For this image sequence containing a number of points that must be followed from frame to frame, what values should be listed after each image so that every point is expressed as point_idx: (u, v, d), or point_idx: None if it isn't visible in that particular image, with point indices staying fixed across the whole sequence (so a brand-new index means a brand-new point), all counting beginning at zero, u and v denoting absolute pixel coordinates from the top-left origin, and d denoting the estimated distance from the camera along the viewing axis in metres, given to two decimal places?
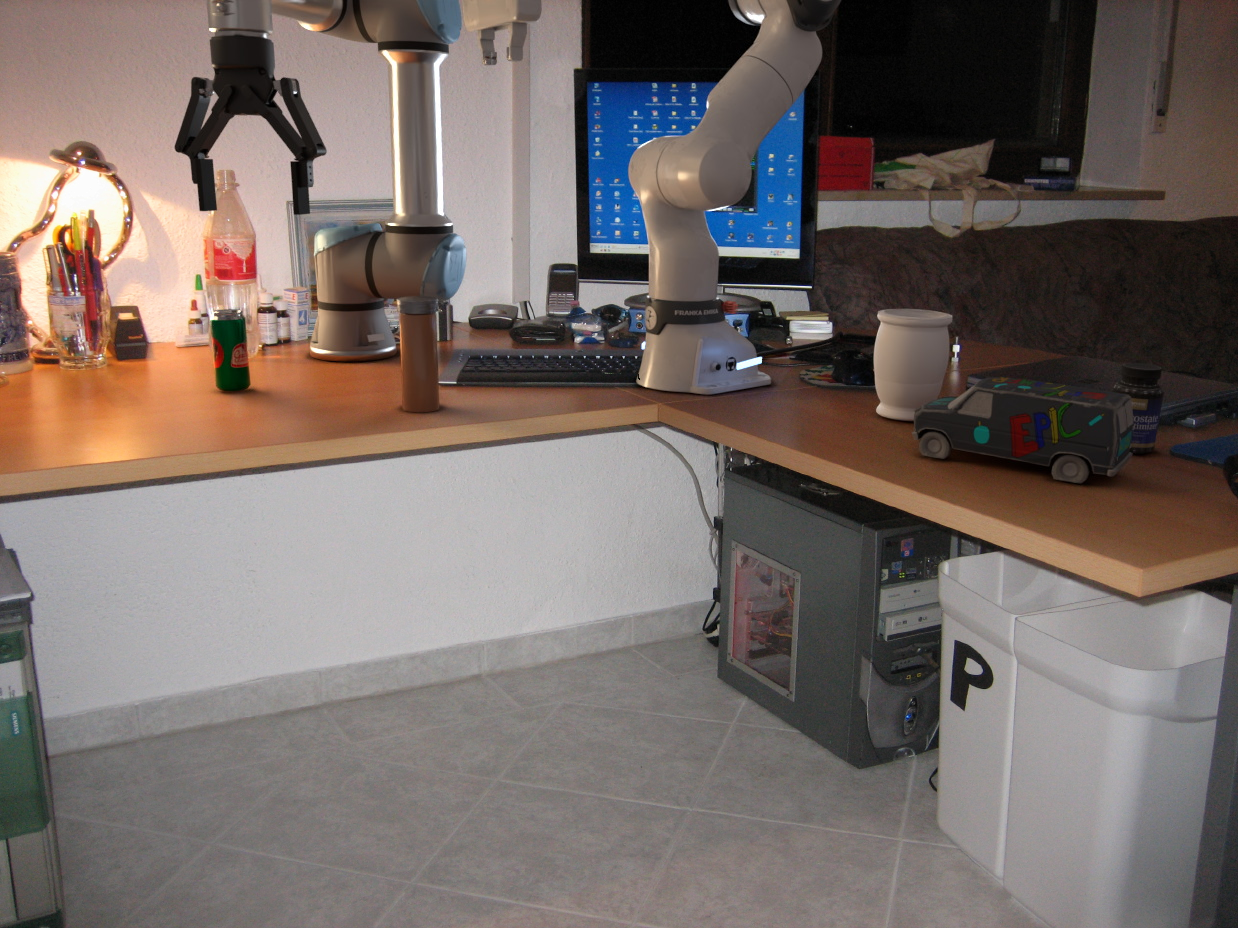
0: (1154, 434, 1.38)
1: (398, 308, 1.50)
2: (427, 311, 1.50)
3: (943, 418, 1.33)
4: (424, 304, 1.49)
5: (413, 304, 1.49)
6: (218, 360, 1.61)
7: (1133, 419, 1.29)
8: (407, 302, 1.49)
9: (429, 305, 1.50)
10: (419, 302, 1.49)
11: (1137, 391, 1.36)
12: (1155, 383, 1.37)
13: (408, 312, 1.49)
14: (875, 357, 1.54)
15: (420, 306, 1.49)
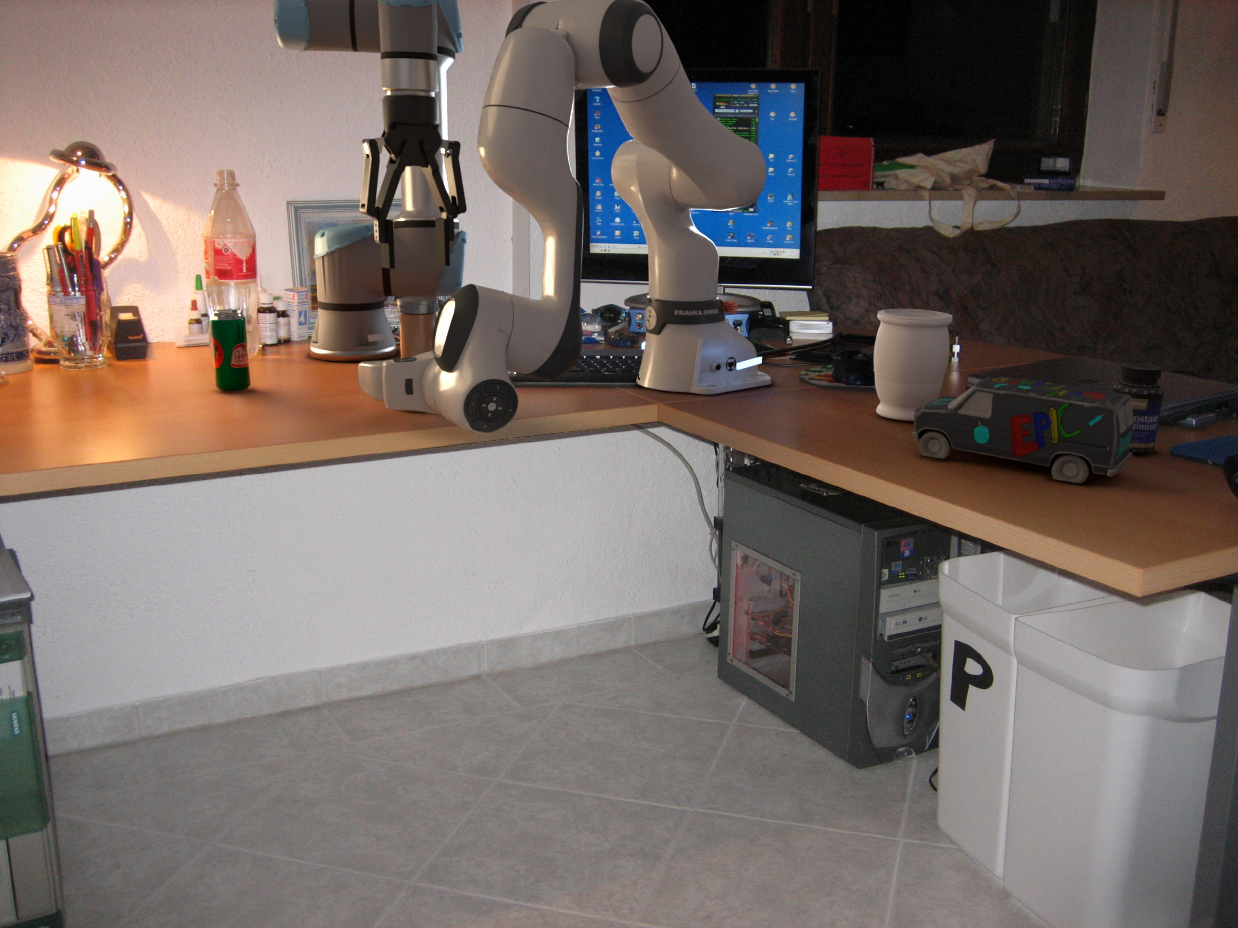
0: (1154, 434, 1.38)
1: (398, 308, 1.50)
2: (427, 311, 1.50)
3: (943, 418, 1.33)
4: (424, 304, 1.49)
5: (413, 304, 1.49)
6: (218, 360, 1.61)
7: (1133, 419, 1.29)
8: (407, 302, 1.49)
9: (429, 305, 1.50)
10: (419, 302, 1.49)
11: (1137, 391, 1.36)
12: (1155, 383, 1.37)
13: (408, 312, 1.49)
14: (875, 357, 1.54)
15: (420, 306, 1.49)
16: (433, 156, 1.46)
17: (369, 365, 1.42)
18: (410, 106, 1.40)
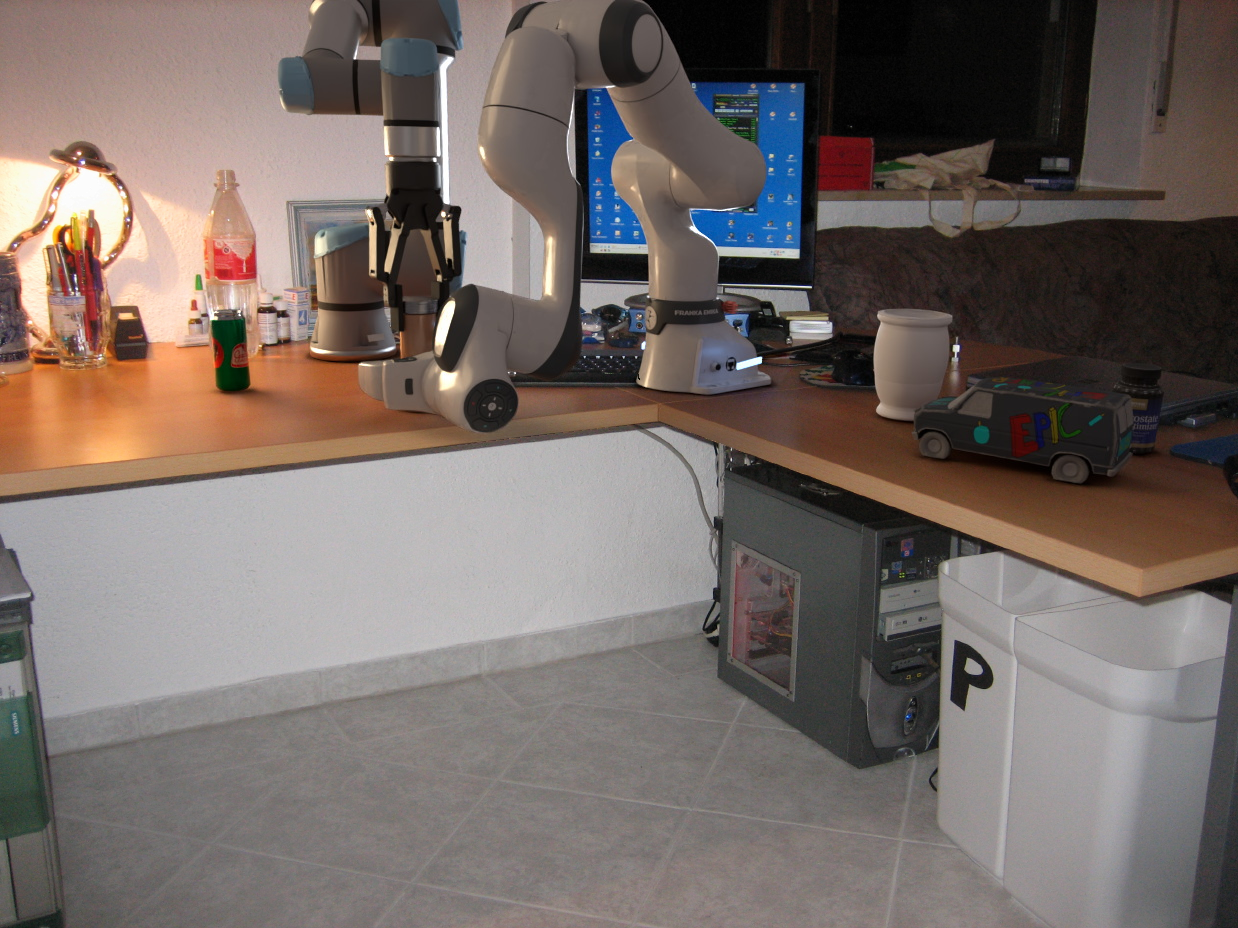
0: (1154, 434, 1.38)
1: None
2: (427, 311, 1.50)
3: (943, 418, 1.33)
4: (424, 304, 1.49)
5: (413, 304, 1.49)
6: (218, 360, 1.61)
7: (1133, 419, 1.29)
8: (407, 302, 1.49)
9: (429, 305, 1.50)
10: (419, 302, 1.49)
11: (1137, 391, 1.36)
12: (1155, 383, 1.37)
13: (408, 312, 1.49)
14: (875, 357, 1.54)
15: (420, 306, 1.49)
16: (435, 219, 1.48)
17: (369, 365, 1.42)
18: (413, 172, 1.43)
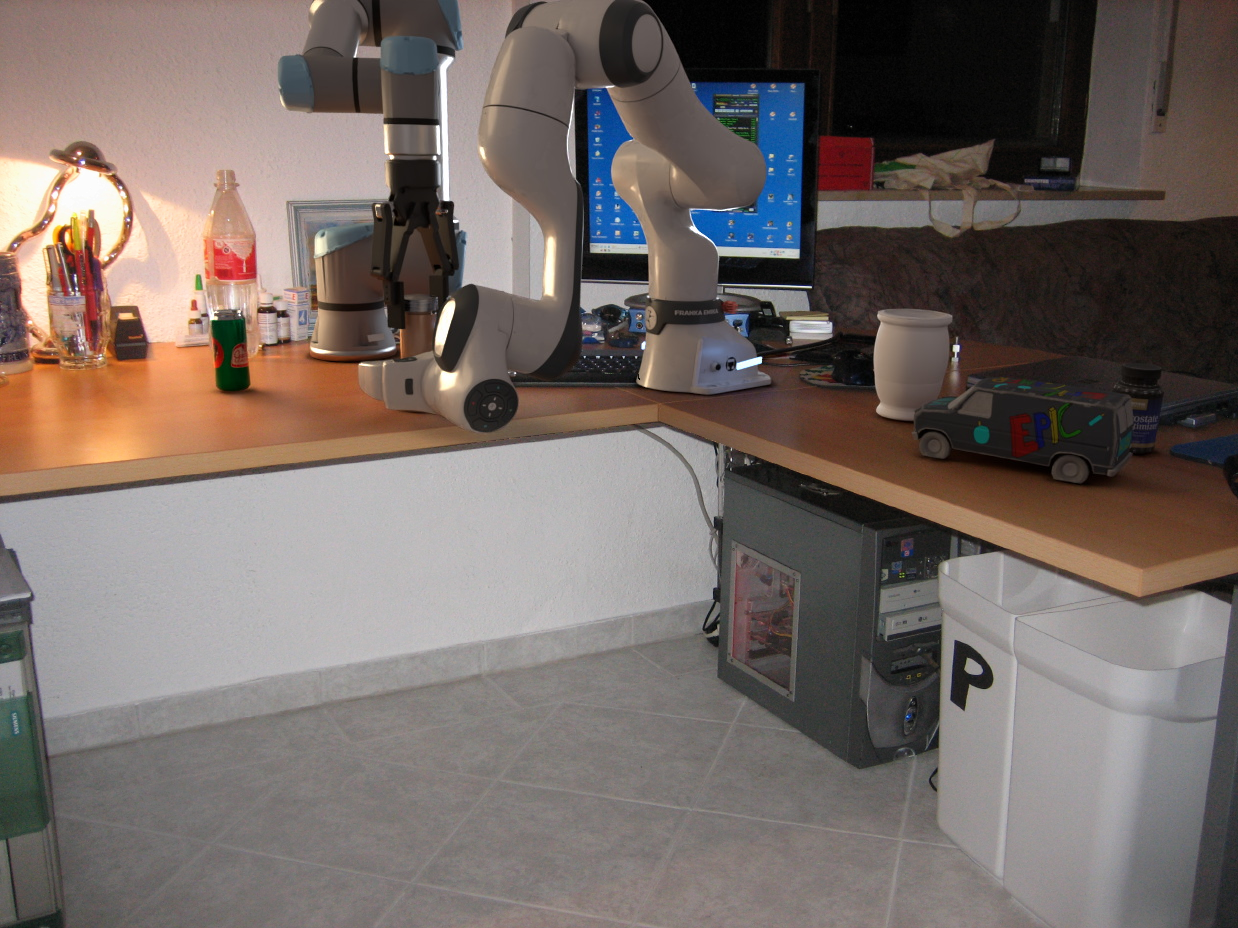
0: (1154, 434, 1.38)
1: (424, 308, 1.49)
2: None
3: (943, 418, 1.33)
4: None
5: (437, 300, 1.51)
6: (218, 360, 1.61)
7: (1133, 419, 1.29)
8: (435, 299, 1.50)
9: None
10: None
11: (1137, 391, 1.36)
12: (1155, 383, 1.37)
13: (435, 309, 1.51)
14: (875, 357, 1.54)
15: None
16: (435, 217, 1.49)
17: (369, 365, 1.42)
18: (422, 170, 1.43)
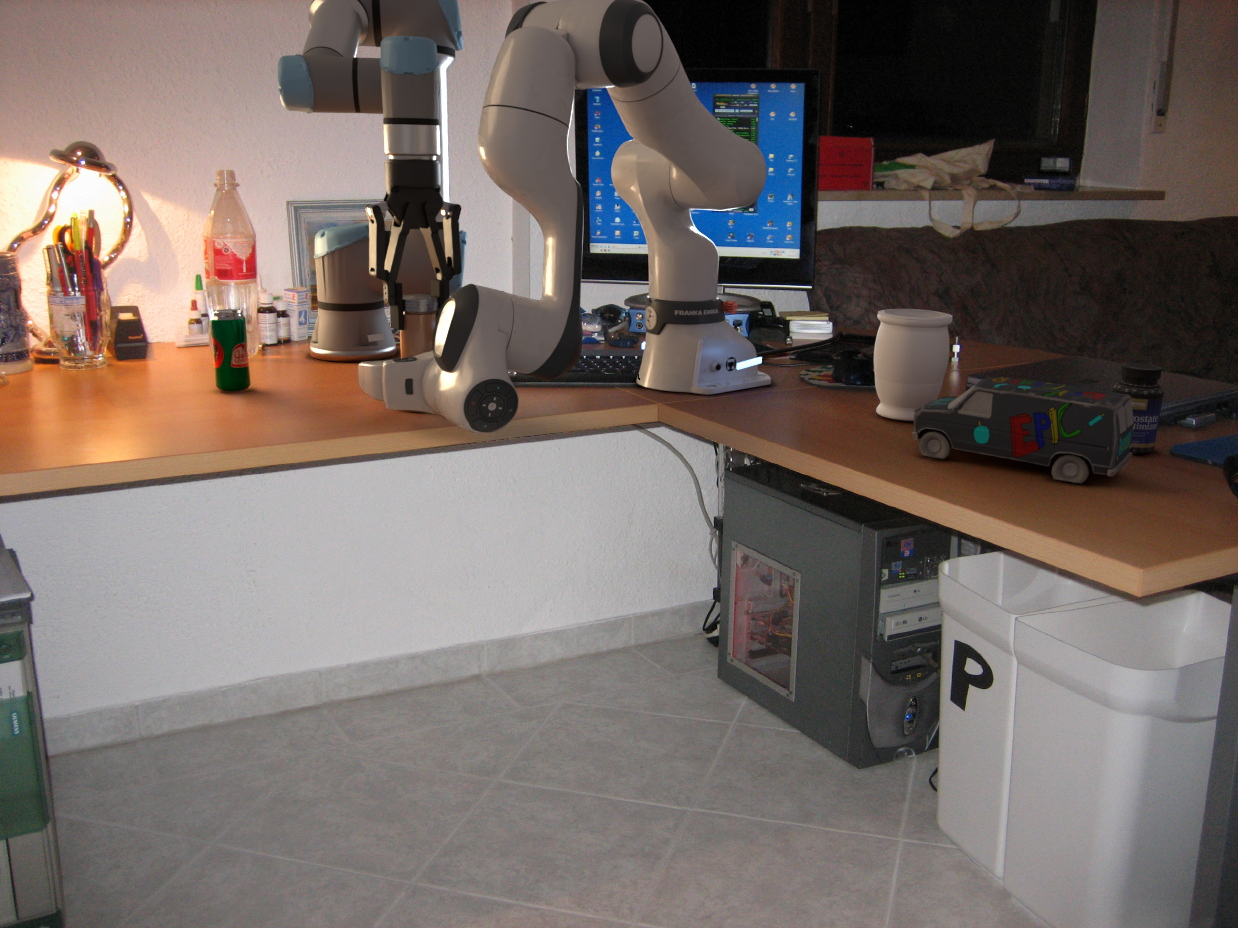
0: (1154, 434, 1.38)
1: (424, 308, 1.49)
2: None
3: (943, 418, 1.33)
4: None
5: (437, 300, 1.51)
6: (218, 360, 1.61)
7: (1133, 419, 1.29)
8: (435, 299, 1.50)
9: None
10: None
11: (1137, 391, 1.36)
12: (1155, 383, 1.37)
13: (435, 309, 1.51)
14: (875, 357, 1.54)
15: None
16: (435, 217, 1.48)
17: (369, 365, 1.42)
18: (413, 170, 1.43)
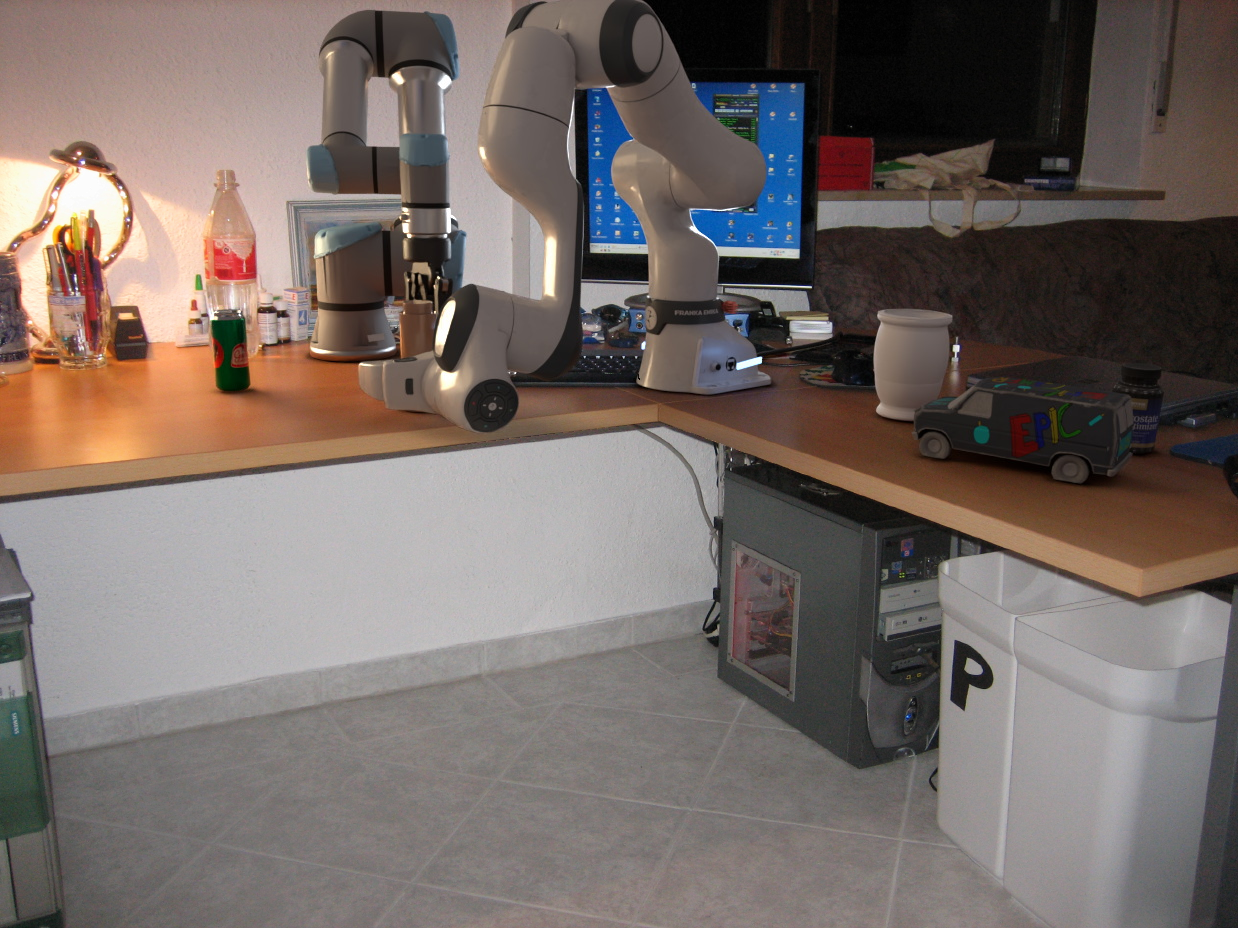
0: (1154, 434, 1.38)
1: None
2: None
3: (943, 418, 1.33)
4: None
5: None
6: (218, 360, 1.61)
7: (1133, 419, 1.29)
8: None
9: None
10: None
11: (1137, 391, 1.36)
12: (1155, 383, 1.37)
13: None
14: (875, 357, 1.54)
15: None
16: None
17: (369, 365, 1.41)
18: (450, 246, 1.69)
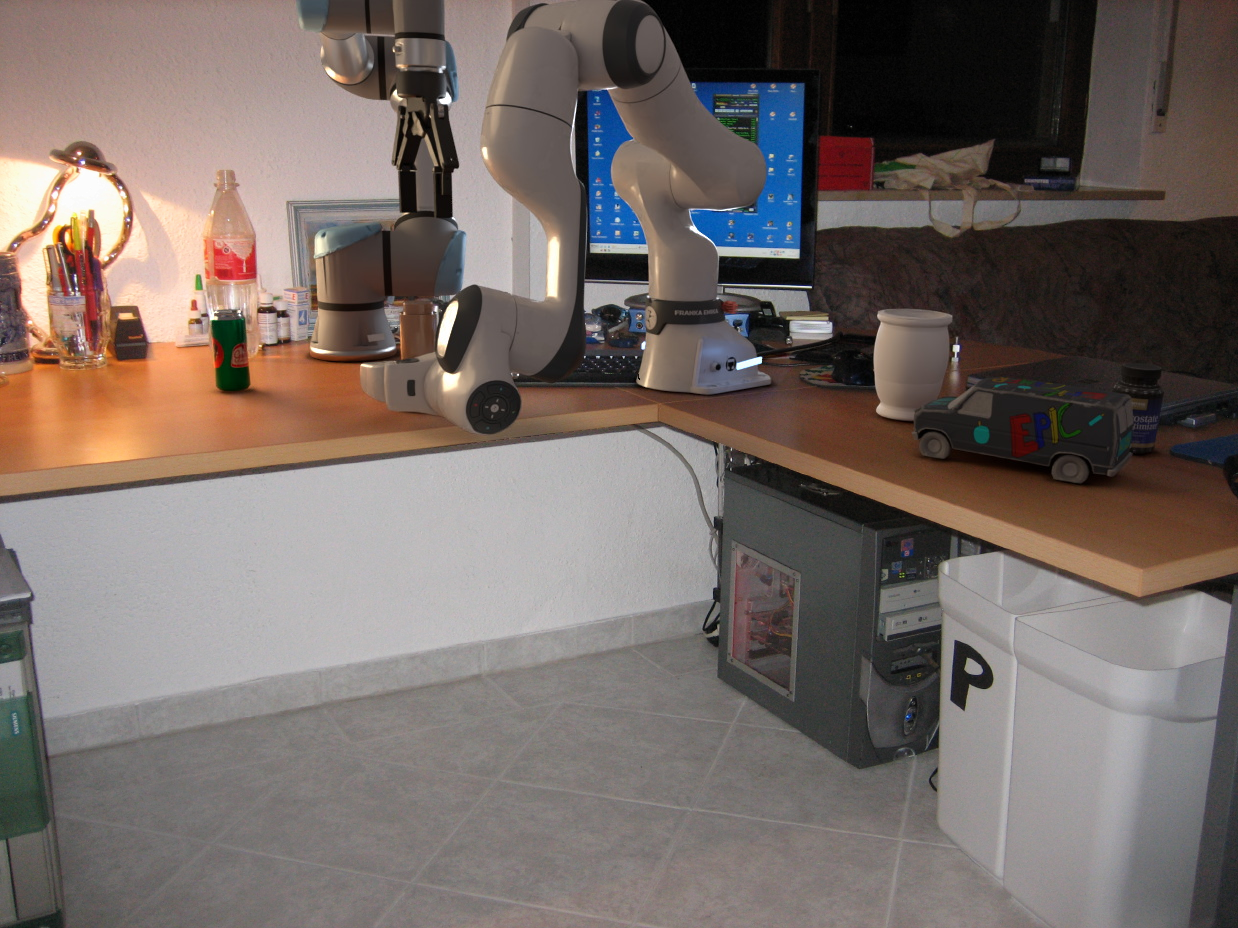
0: (1154, 434, 1.38)
1: None
2: None
3: (943, 418, 1.33)
4: None
5: None
6: (218, 360, 1.61)
7: (1133, 419, 1.29)
8: None
9: None
10: None
11: (1137, 391, 1.36)
12: (1155, 383, 1.37)
13: None
14: (875, 357, 1.54)
15: None
16: None
17: (371, 366, 1.41)
18: None
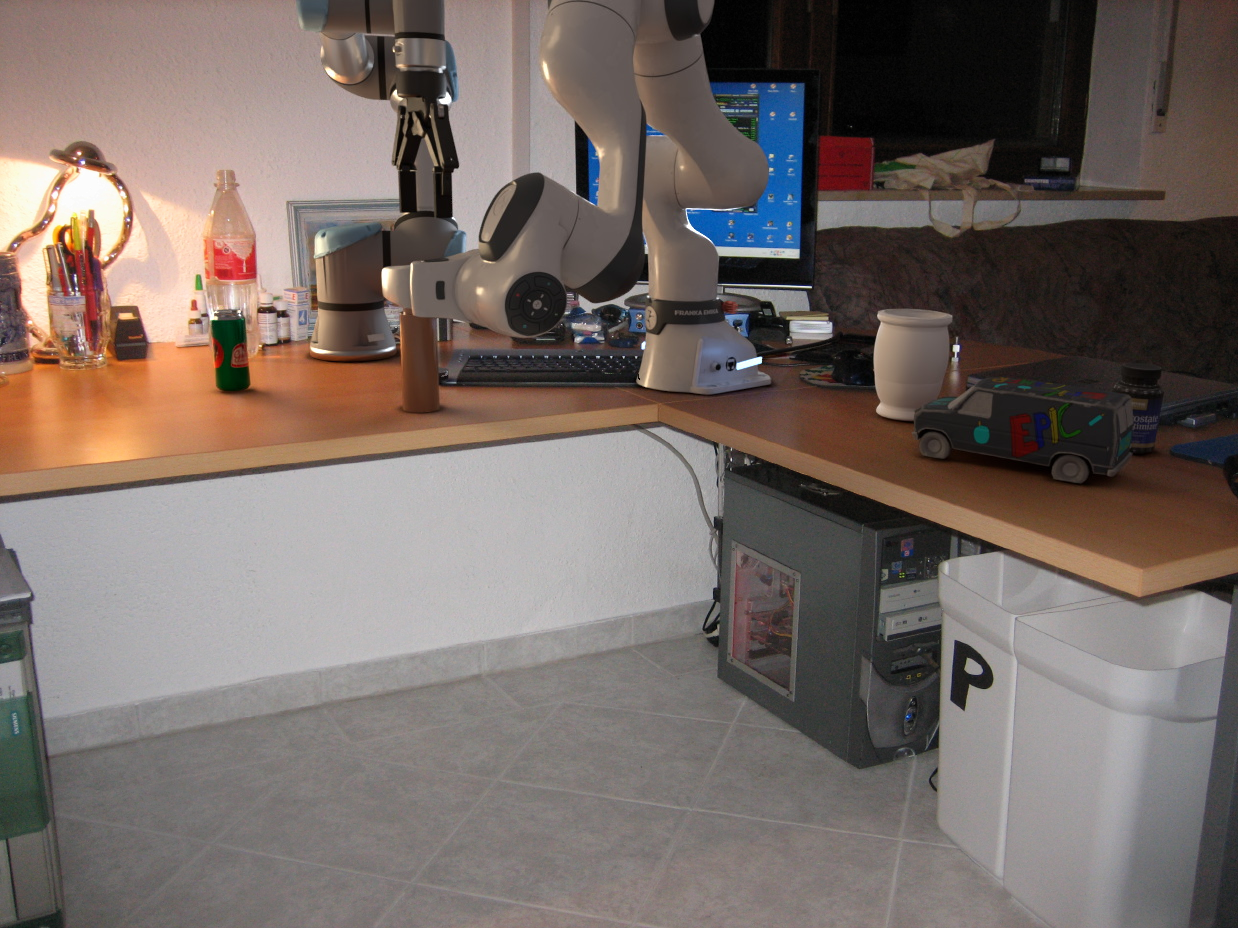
0: (1154, 434, 1.38)
1: None
2: None
3: (943, 418, 1.33)
4: None
5: None
6: (218, 360, 1.61)
7: (1133, 419, 1.29)
8: None
9: None
10: None
11: (1137, 391, 1.36)
12: (1155, 383, 1.37)
13: None
14: (875, 357, 1.54)
15: None
16: None
17: (395, 268, 1.26)
18: None
